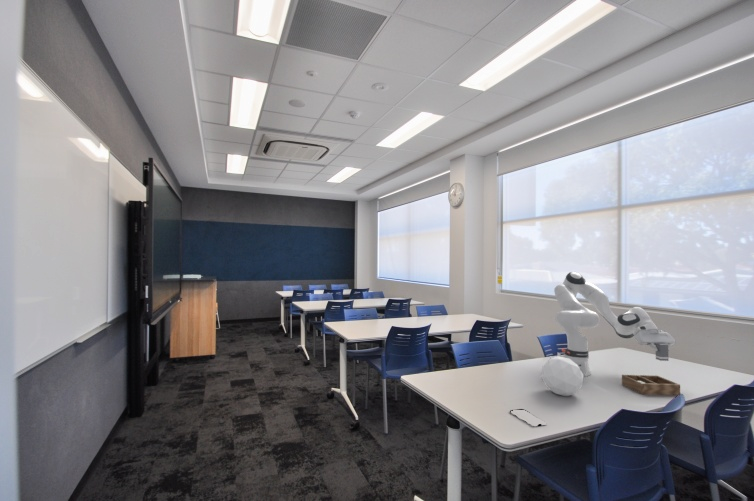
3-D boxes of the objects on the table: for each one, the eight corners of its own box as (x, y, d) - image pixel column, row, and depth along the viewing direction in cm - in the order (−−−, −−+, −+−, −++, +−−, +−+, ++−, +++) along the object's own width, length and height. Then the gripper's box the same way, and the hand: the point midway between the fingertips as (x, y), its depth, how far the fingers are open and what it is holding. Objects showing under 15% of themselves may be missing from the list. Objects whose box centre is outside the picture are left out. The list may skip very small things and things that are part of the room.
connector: (660, 360, 199) (660, 344, 199) (655, 358, 202) (655, 343, 203) (668, 360, 199) (668, 344, 199) (663, 359, 202) (663, 343, 203)
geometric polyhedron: (572, 410, 178) (591, 387, 167) (532, 391, 185) (547, 367, 173) (574, 383, 192) (591, 360, 181) (537, 365, 199) (551, 342, 187)
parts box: (642, 395, 182) (642, 383, 183) (622, 385, 197) (621, 374, 198) (680, 396, 182) (680, 384, 183) (657, 386, 197) (657, 375, 198)
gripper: (663, 334, 212) (677, 354, 202) (629, 333, 213) (642, 353, 202) (669, 328, 208) (684, 348, 198) (635, 327, 208) (648, 347, 198)
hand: (662, 351), depth 200 cm, fingers closed on connector, 4 cm apart
